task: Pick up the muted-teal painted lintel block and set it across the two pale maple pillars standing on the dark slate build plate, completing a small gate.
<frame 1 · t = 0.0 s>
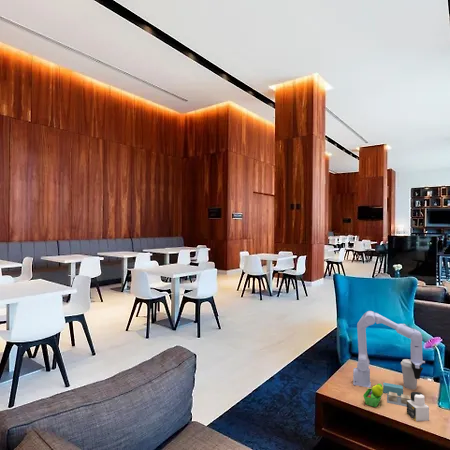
hand: (416, 376, 189), 10 cm above the table, fingers open, 6 cm apart
pillar near arm: (393, 399, 183), resting on build plate
medicine bottle: (417, 418, 167), on the table
lintel: (393, 394, 190), on the table
coffee cup: (410, 387, 198), on the table, touching gripper
build plate: (399, 401, 182), on the table
fruit basket: (374, 404, 180), on the table
pillar far: (405, 402, 180), resting on build plate
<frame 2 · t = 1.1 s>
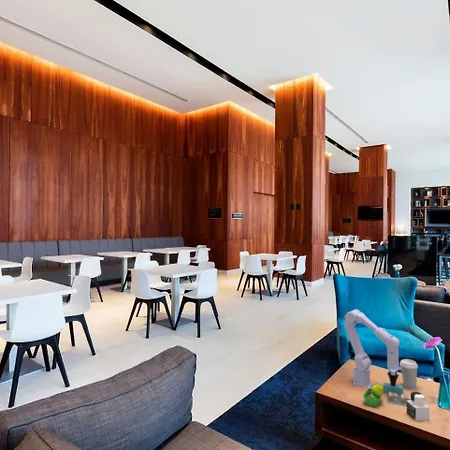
hand: (393, 382, 190), 6 cm above the table, fingers open, 7 cm apart
coffee cup: (410, 387, 198), on the table
everything else where it was.
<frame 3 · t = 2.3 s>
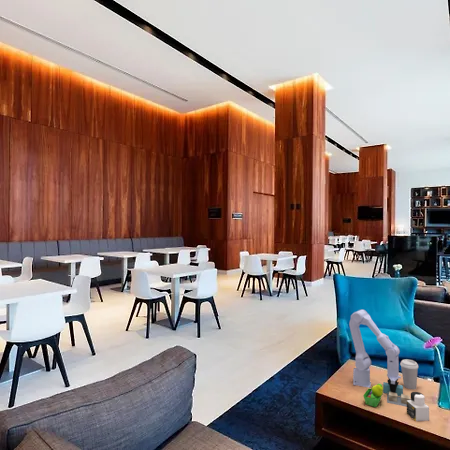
hand: (393, 391, 190), 1 cm above the table, fingers closed on lintel, 4 cm apart
lintel: (393, 394, 190), on the table, touching gripper
everything else where it was.
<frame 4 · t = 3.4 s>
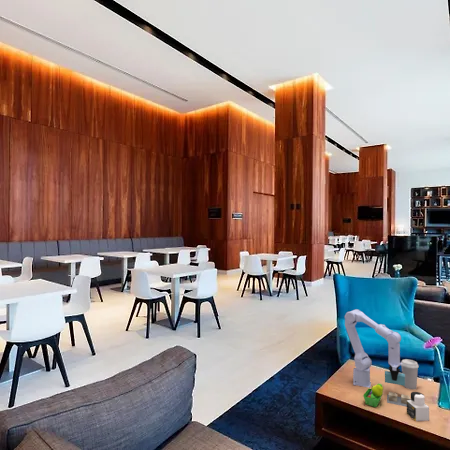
hand: (394, 378, 189), 9 cm above the table, fingers closed on lintel, 4 cm apart
lintel: (394, 382, 188), point 7 cm above the table, touching gripper
everything else where it was.
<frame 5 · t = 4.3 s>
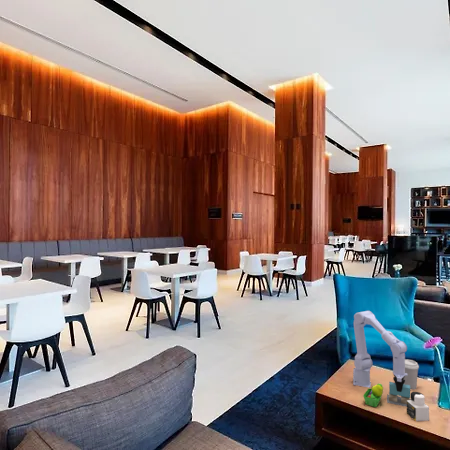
hand: (399, 389, 182), 7 cm above the table, fingers closed on lintel, 4 cm apart
lintel: (399, 394, 182), point 4 cm above the table, touching gripper
everything else where it was.
when the fingers open (6 cm above the table, at t = 4.8 s): lintel stays where it is, resting on pillar far, pillar near arm.
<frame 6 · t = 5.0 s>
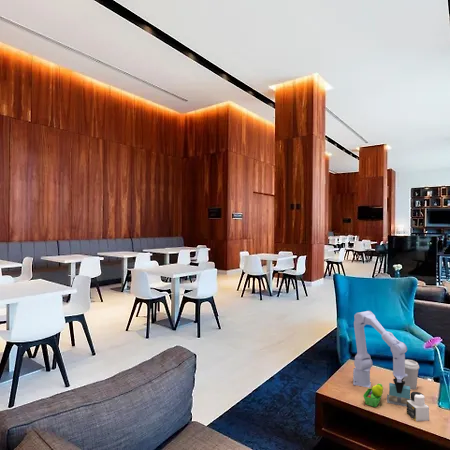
hand: (399, 390, 182), 6 cm above the table, fingers open, 6 cm apart
pillar near arm: (393, 399, 183), resting on build plate, touching lintel
lintel: (399, 395, 182), point 3 cm above the table, touching pillar far, pillar near arm
pillar far: (405, 402, 180), resting on build plate, touching lintel
everything else where it was.
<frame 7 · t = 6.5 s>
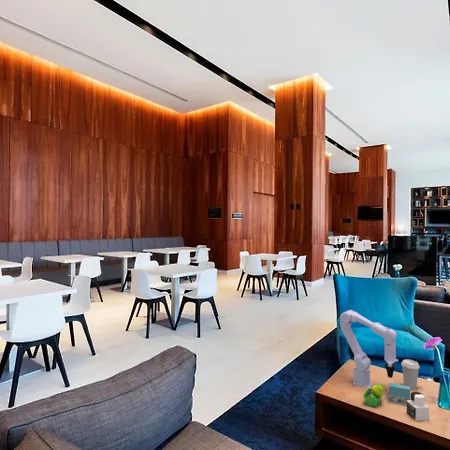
hand: (390, 374, 192), 10 cm above the table, fingers open, 7 cm apart
nothing on the table moved.
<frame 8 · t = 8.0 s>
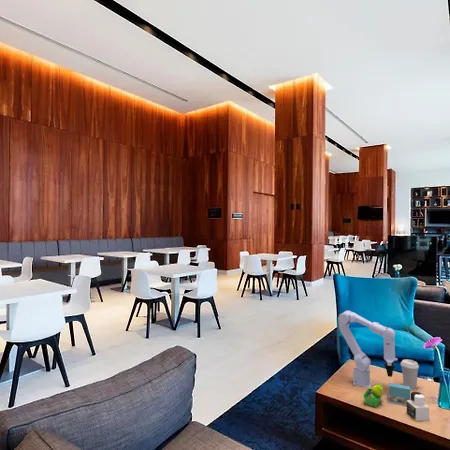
hand: (389, 373, 193), 10 cm above the table, fingers open, 7 cm apart
nothing on the table moved.
at the end: lintel 0.2 cm from the target spot, point 3.5 cm above the table; lintel tilted 0°; lintel touching pillar far, pillar near arm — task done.
